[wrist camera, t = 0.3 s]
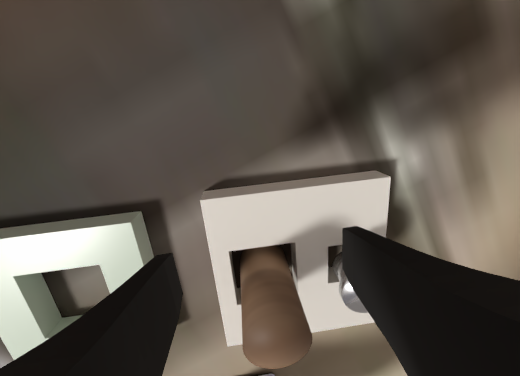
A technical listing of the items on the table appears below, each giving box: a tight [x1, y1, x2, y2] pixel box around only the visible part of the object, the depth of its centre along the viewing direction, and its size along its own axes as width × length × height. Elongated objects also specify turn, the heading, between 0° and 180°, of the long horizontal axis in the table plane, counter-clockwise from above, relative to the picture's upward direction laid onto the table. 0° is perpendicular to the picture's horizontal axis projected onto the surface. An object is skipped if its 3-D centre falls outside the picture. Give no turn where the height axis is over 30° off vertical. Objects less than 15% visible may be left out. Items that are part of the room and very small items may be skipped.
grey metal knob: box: [333, 252, 368, 313], centre depth 18 cm, size 4×4×3 cm
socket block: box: [200, 170, 391, 346], centre depth 20 cm, size 14×14×2 cm
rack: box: [0, 211, 154, 360], centre depth 19 cm, size 12×12×2 cm
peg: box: [240, 245, 312, 369], centre depth 17 cm, size 4×4×8 cm
